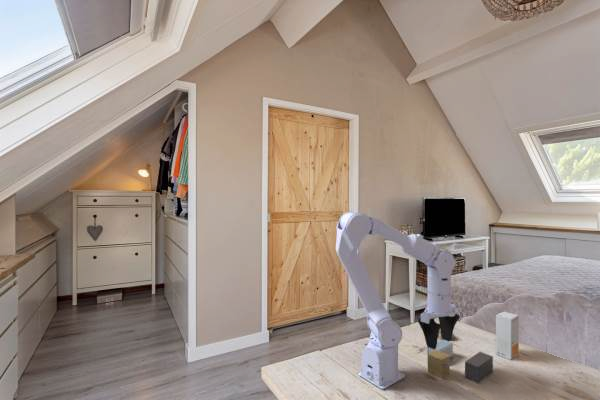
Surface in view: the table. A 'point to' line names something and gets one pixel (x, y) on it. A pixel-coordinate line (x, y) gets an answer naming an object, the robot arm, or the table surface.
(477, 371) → the grey block
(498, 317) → the skincare box
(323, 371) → the table surface
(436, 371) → the brass block
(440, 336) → the mineral rock
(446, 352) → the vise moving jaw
